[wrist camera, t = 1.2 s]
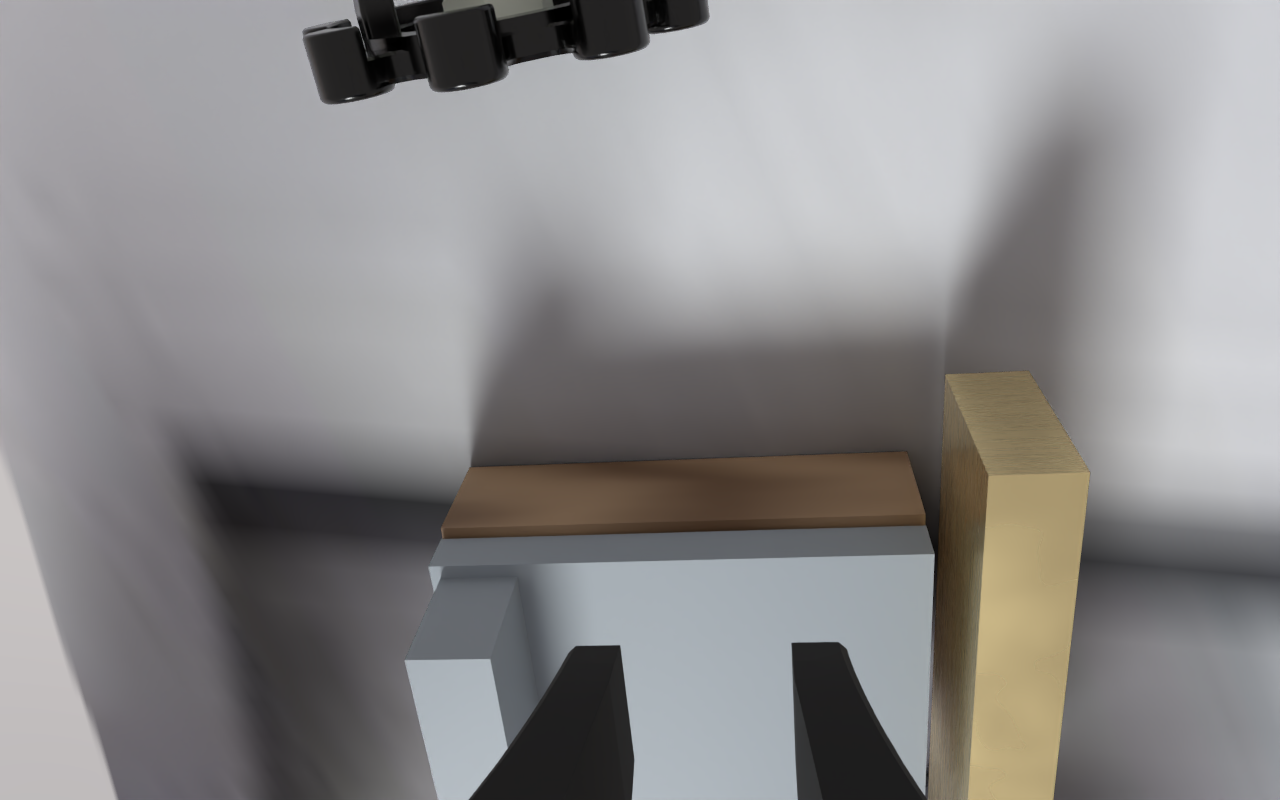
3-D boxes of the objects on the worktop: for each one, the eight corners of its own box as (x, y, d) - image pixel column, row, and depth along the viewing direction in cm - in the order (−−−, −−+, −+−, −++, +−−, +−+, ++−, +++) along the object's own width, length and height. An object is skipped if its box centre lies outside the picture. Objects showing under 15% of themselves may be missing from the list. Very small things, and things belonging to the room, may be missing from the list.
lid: (489, 770, 25) (452, 898, 21) (441, 539, 22) (390, 647, 19) (917, 770, 23) (945, 906, 20) (925, 525, 21) (959, 638, 17)
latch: (917, 867, 27) (953, 1064, 22) (934, 374, 20) (988, 508, 16) (997, 868, 26) (1049, 1067, 22) (1039, 370, 20) (1123, 504, 16)
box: (512, 698, 27) (491, 773, 25) (469, 467, 24) (440, 528, 22) (901, 695, 26) (917, 773, 24) (906, 451, 23) (925, 514, 21)
